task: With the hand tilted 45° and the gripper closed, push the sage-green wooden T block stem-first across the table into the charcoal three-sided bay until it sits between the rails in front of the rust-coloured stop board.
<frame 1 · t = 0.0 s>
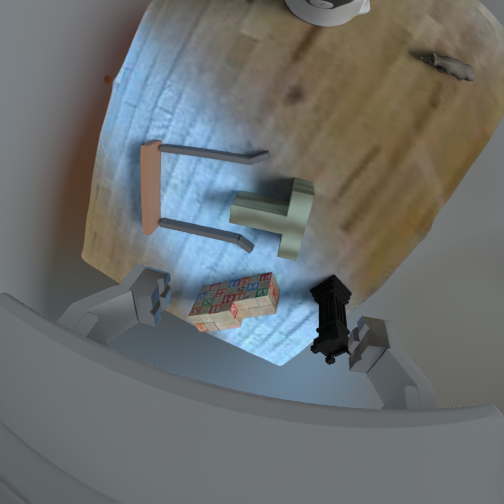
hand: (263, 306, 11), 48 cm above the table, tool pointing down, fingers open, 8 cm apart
stack of blocks: (240, 287, 76), on the table
bay: (202, 191, 61), on the table
rhino figurine: (441, 66, 35), on the table
chess piece: (331, 290, 71), on the table
T block: (271, 205, 60), on the table
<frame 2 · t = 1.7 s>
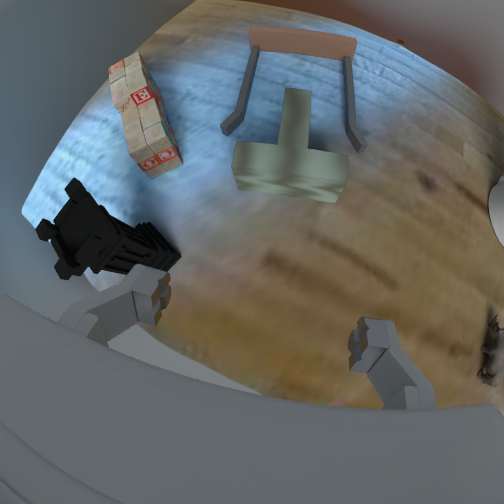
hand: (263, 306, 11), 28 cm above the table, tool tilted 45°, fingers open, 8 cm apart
stack of blocks: (155, 129, 46), on the table
bay: (298, 86, 45), on the table
rhino figurine: (485, 350, 34), on the table
chess piece: (148, 257, 42), on the table
T block: (292, 153, 42), on the table
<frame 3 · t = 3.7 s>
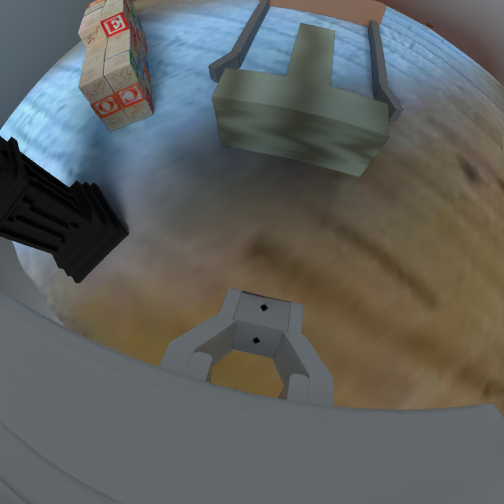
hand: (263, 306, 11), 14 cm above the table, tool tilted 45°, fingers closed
stack of blocks: (130, 77, 31), on the table
bay: (314, 41, 32), on the table
chess piece: (87, 232, 27), on the table
T block: (302, 108, 29), on the table
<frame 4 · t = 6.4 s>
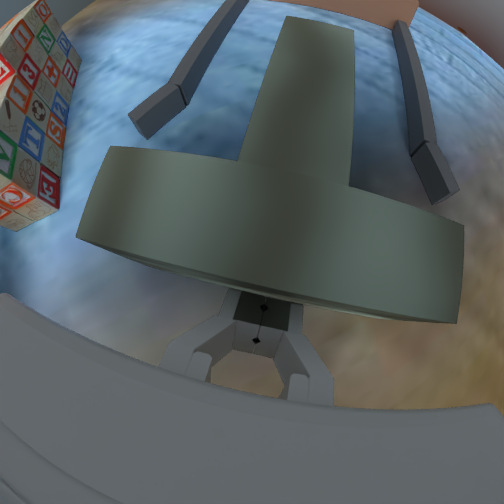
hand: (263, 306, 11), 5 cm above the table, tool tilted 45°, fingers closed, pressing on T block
stack of blocks: (48, 130, 20), on the table
bay: (314, 50, 20), on the table
T block: (288, 181, 18), on the table, touching gripper
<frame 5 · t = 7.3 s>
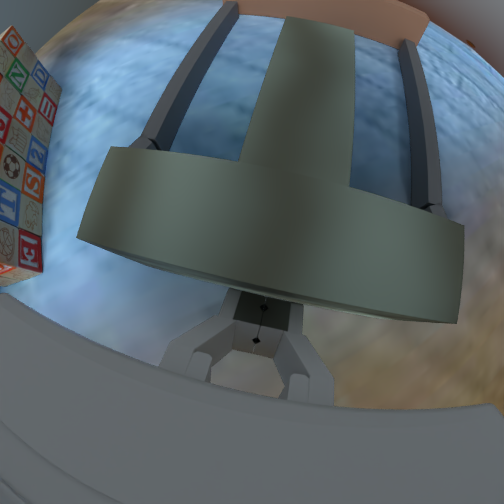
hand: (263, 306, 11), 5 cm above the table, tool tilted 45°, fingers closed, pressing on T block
stack of blocks: (28, 174, 19), on the table
bay: (310, 81, 19), on the table
T block: (289, 182, 18), on the table, touching gripper
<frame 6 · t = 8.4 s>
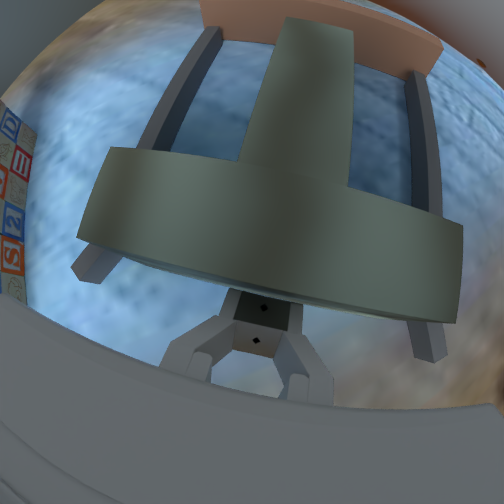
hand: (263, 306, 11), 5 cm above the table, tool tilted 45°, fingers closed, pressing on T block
stack of blocks: (9, 235, 18), on the table
bay: (300, 134, 18), on the table
T block: (288, 182, 18), on the table, touching gripper
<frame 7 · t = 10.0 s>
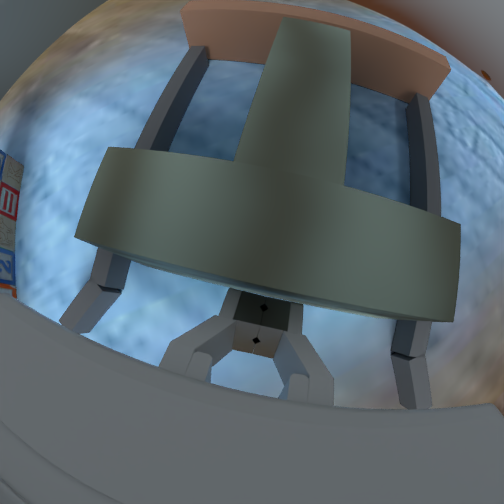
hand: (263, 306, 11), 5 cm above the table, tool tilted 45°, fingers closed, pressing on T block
stack of blocks: (1, 274, 17), on the table
bay: (290, 175, 18), on the table
T block: (286, 181, 18), on the table, touching gripper
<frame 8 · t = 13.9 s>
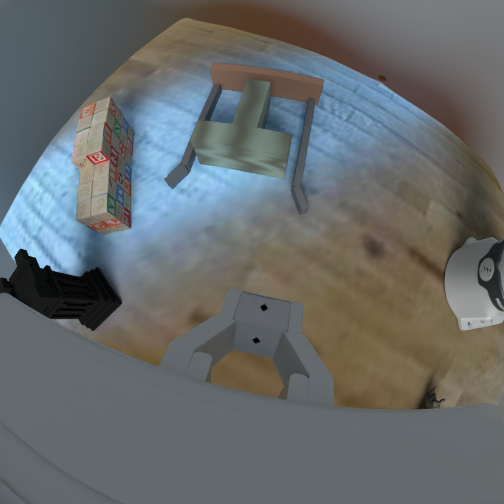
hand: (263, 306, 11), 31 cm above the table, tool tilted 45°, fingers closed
stack of blocks: (118, 180, 47), on the table
bay: (252, 134, 48), on the table
rhino figurine: (418, 415, 37), on the table
chess piece: (96, 299, 43), on the table
T block: (250, 136, 48), on the table
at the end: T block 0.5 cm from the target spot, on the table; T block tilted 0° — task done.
